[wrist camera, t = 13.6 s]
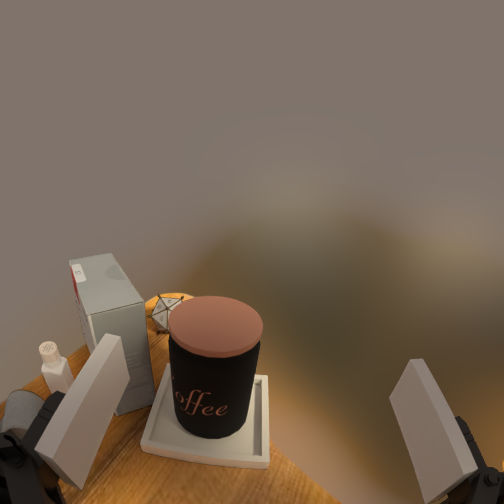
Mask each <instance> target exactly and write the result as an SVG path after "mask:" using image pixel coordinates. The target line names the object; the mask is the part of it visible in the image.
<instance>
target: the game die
mask: <svg viewBox="0 0 504 504" xmlns="http://www.w3.org/2000/svg"><path fill="white" fill-rule="evenodd" d="M158 297H159V299H158V301H157V304H156V306H155V308H154V310H152V311H153V312H152V314H151V315H148V316H147V317H148V318H150V317H151V318H152V320H153V321H154V323H155V325H156V327H157V328H158V331H157V334H159V333H160V331H162V332H165V333H166V334H167V333H168V332H170V331H169V328H168V318H169V314H170V312H171V311H172V310H173V309H174V307H175V306H177V305H178V304H180V303H182V302H183V301H182V299H183V298H184V296H182V297H181V299H177V298H166V297H160V294H158Z"/></svg>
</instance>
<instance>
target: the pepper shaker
mask: <svg viewBox="0 0 504 504" xmlns="http://www.w3.org/2000/svg"><path fill="white" fill-rule="evenodd" d="M39 352H40V355H41V358H42V360H43V364H42V368H41V371H42V374H43V376H44V379H45V381H46V383H47V385H48V387H49V389H50V391H51V393H52V394H53V393H54V392H55V391H60V392H62V393H65V394H66V393H67V392H68V390H69V388H70V387H71V385H72V384H73V382H74V378H73V375H72V372H71V370H70V367H69V364H68V361H67V359H66V358H64V357H61V356H60V354H59V351H58V348H57V346H56V344H55V343H54V342H51V341H49V342H44V343H42V344H41V345H40V346H39Z"/></svg>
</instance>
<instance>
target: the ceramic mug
mask: <svg viewBox="0 0 504 504" xmlns="http://www.w3.org/2000/svg"><path fill="white" fill-rule="evenodd" d="M43 404H44V400H43V399H42V398H41V397H40V396H38V395H37V394H35V393H33V392H31V391H28V390H15V391H13V392H11V393H10V394H9V396H8V398H7V401H6V405H5V413H4V417H3V418H2V420H1V421H0V433H2V432H9V433H11V434H14V435H15V436H16V437H17V439H18V440H19V441H20V442H21V440H22V439H23V437H24V435H25V433H26V432H27V430H28V428H29V427H30V425H31V423H32V422H33V420H34V418H35V417H36V416H37V413H38V412H39V410H40V409H42V405H43Z"/></svg>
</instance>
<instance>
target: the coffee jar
mask: <svg viewBox="0 0 504 504" xmlns="http://www.w3.org/2000/svg"><path fill="white" fill-rule="evenodd" d="M168 328H169V331H170V335H169V341H168V342H169V357H170V370H171V381H172V391H173V401H174V410H175V414H176V417H177V420H178V422H179V423H180V424H181V425H182V427H183V428H184V429H185V430H187V431H188V432H190V433H191V434H193V435H195V436H198V437H201V438H205V439H221V438H225V437H228V436H231V435H232V434H234V433H235V432H237V431H239V430H240V428H241V427H242V426H243V425H244V423H245V422H246V418H247V414H248V409H249V404H250V399H251V393H252V388H253V383H254V377H255V372H256V366H257V361H258V355H259V350H260V337H261V333H262V330H263V324H262V320H261V317H260V316H259V315H258V313H256V311H255V310H254V309H253V308H251V307H250V306H248V305H247V304H245V303H242V302H240V301H237V300H235V299H231V298H226V297H221V296H203V297H195V298H192V299H189V300H185V301H183V302H182V303H180V304H178V305H177V306H175V307H174V309H173V310H172V311H171V312H170V314H169V318H168Z"/></svg>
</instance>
